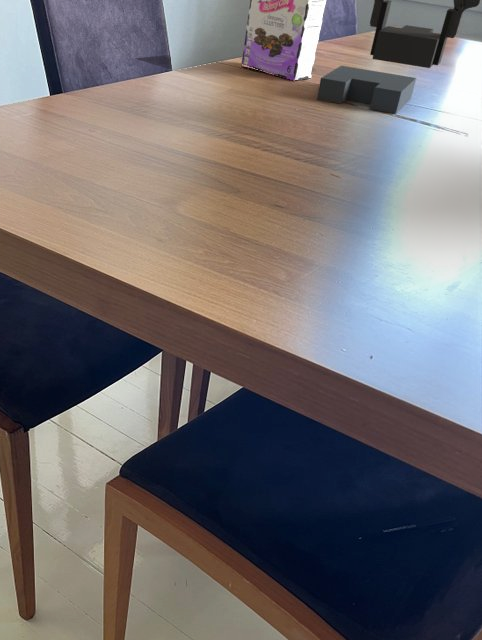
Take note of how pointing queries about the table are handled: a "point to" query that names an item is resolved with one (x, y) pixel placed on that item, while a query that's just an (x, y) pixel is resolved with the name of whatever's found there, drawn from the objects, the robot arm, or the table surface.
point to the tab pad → (407, 45)
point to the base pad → (366, 88)
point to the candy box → (283, 36)
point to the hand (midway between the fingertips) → (405, 58)
